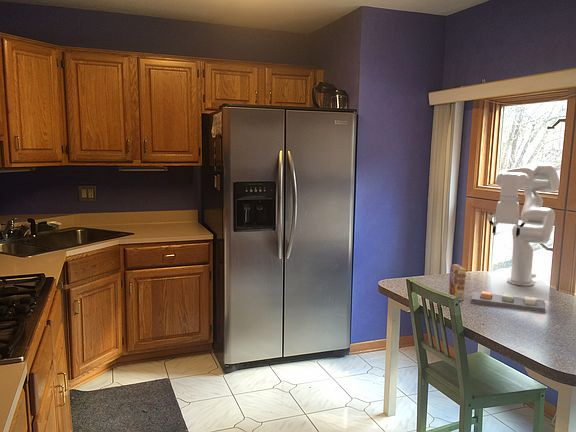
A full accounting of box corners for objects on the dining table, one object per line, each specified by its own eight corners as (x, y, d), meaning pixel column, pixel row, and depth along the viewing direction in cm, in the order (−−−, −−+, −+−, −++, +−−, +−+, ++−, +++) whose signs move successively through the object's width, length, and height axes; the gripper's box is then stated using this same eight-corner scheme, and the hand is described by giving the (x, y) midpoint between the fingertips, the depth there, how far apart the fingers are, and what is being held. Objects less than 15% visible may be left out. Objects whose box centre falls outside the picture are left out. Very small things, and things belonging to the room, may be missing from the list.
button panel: (473, 295, 229) (473, 291, 229) (544, 304, 216) (544, 300, 216) (470, 302, 218) (471, 298, 218) (545, 313, 205) (545, 308, 205)
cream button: (524, 300, 216) (524, 296, 216) (535, 302, 214) (535, 297, 214) (524, 303, 212) (524, 298, 212) (535, 305, 210) (535, 300, 210)
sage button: (502, 298, 220) (502, 293, 219) (513, 299, 218) (513, 294, 218) (502, 300, 216) (502, 296, 216) (512, 302, 214) (513, 297, 214)
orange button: (481, 295, 224) (481, 290, 223) (491, 296, 222) (492, 292, 221) (480, 297, 220) (481, 293, 220) (491, 299, 218) (491, 294, 218)
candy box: (464, 300, 221) (466, 268, 219) (455, 300, 221) (457, 268, 219) (457, 294, 230) (458, 264, 228) (448, 295, 230) (450, 264, 228)
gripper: (528, 200, 224) (525, 236, 226) (488, 198, 231) (486, 233, 233) (529, 201, 217) (526, 238, 219) (488, 199, 224) (485, 235, 226)
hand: (505, 235), depth 226 cm, fingers open, 9 cm apart
